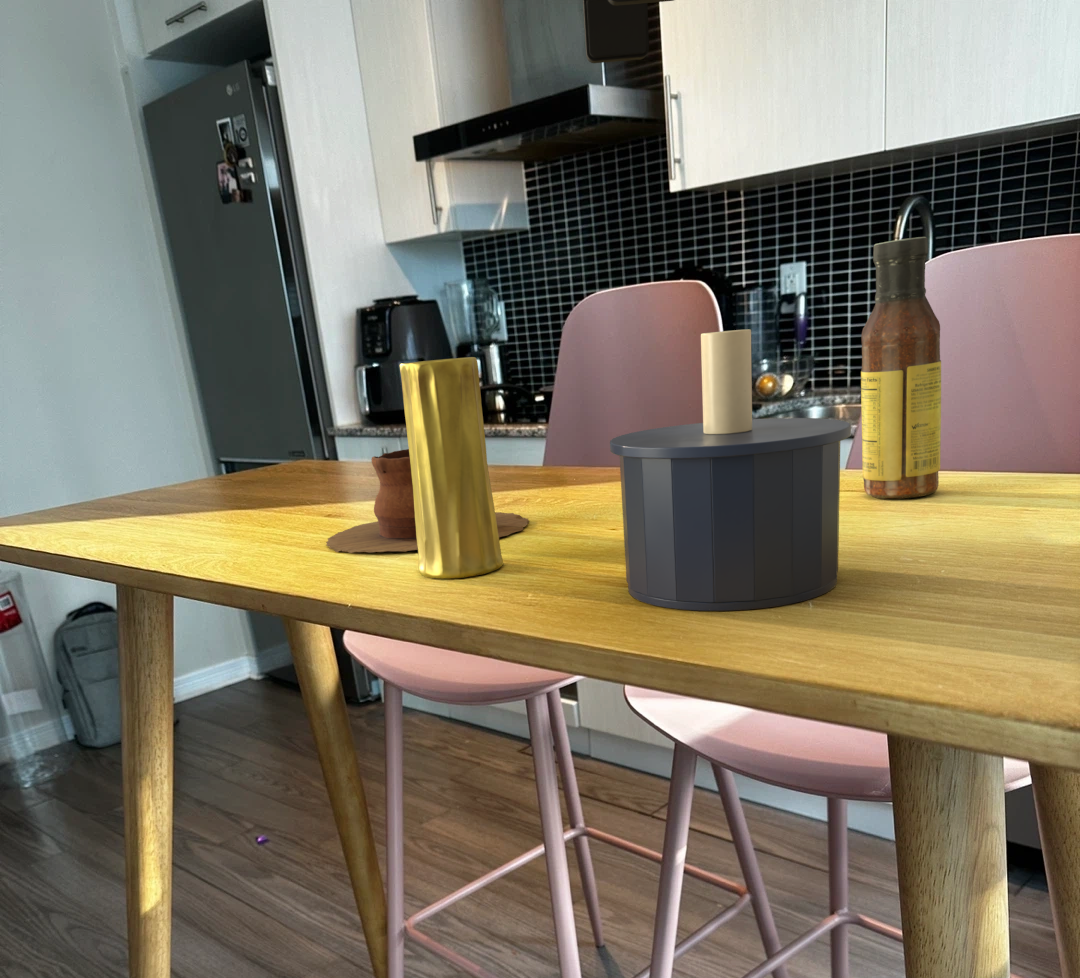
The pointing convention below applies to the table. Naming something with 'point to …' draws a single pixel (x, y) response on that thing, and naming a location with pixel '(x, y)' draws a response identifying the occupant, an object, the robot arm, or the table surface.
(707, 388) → the tin lid
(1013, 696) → the table surface
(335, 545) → the ceramic pot
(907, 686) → the table surface
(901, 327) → the sauce bottle
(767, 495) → the tin
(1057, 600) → the table surface
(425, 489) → the vase
